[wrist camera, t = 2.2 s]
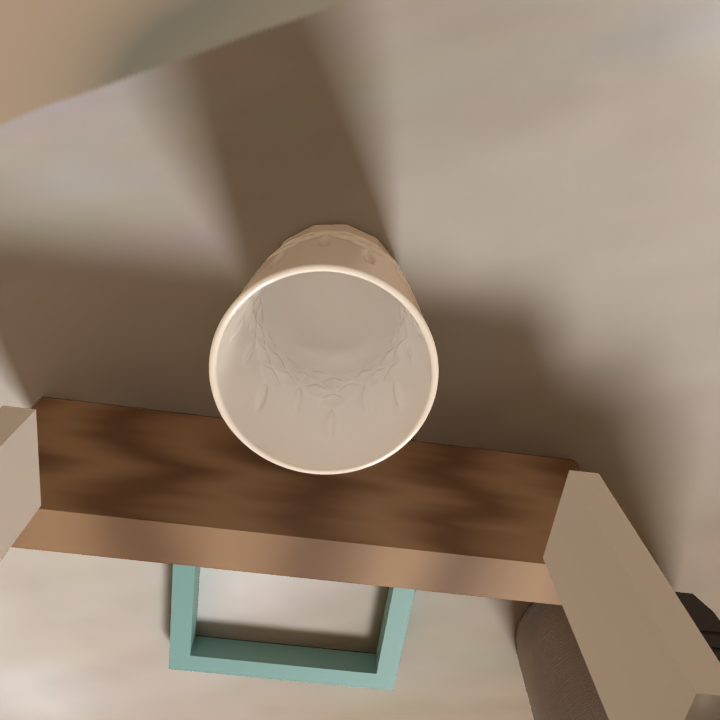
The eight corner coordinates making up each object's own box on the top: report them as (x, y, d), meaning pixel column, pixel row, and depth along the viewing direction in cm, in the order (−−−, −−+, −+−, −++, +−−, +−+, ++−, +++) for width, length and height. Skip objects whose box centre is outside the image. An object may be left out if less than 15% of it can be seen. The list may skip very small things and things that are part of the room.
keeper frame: (175, 648, 41) (168, 668, 39) (183, 460, 35) (176, 475, 34) (391, 670, 41) (393, 690, 40) (430, 488, 36) (433, 505, 35)
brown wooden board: (44, 431, 35) (-54, 540, 26) (42, 396, 34) (-59, 498, 26) (564, 491, 36) (626, 612, 28) (574, 460, 36) (640, 574, 27)
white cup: (349, 395, 34) (346, 511, 25) (219, 307, 32) (164, 397, 23) (448, 277, 32) (486, 356, 23) (314, 174, 30) (295, 214, 21)
